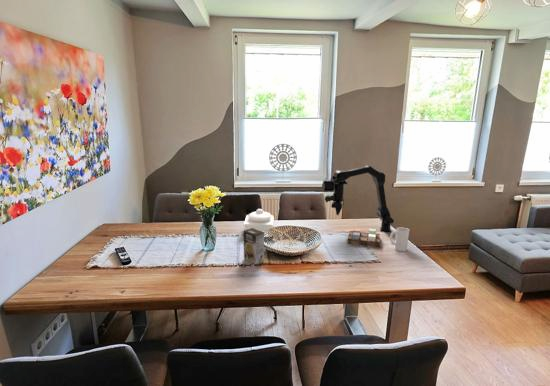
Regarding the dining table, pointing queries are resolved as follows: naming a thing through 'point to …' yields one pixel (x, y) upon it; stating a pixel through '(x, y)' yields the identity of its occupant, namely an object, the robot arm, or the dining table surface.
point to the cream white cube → (371, 237)
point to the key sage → (372, 231)
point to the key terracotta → (356, 230)
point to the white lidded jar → (259, 220)
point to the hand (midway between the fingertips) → (337, 215)
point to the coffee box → (253, 245)
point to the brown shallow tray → (364, 240)
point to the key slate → (356, 236)
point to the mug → (400, 238)
